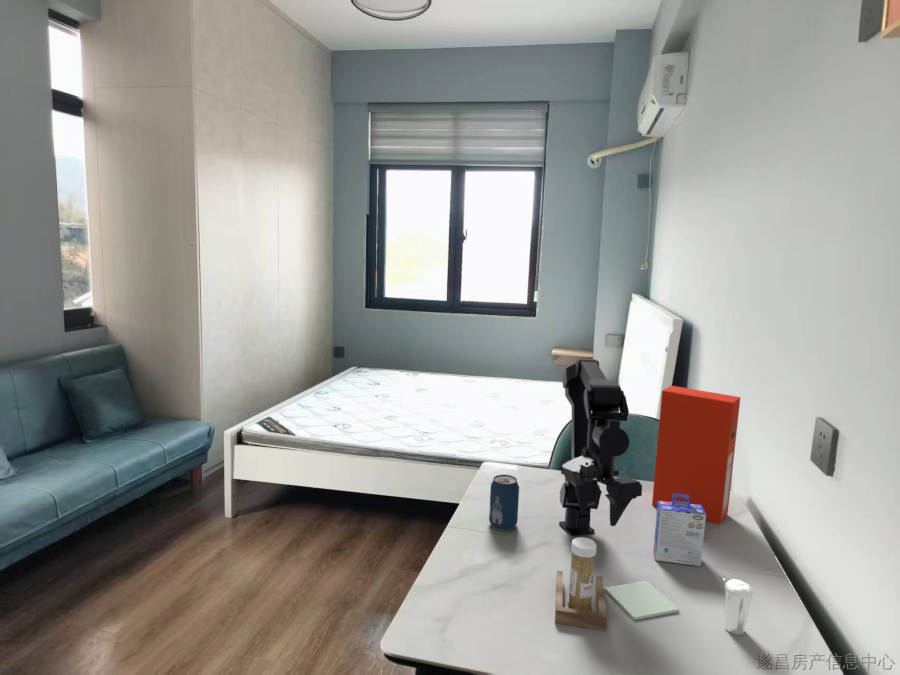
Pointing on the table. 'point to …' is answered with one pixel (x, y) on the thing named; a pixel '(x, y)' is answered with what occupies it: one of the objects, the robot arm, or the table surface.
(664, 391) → the red box
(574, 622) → the wooden holder
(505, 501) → the soda can
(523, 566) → the table surface
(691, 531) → the ink cartridge box
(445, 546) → the table surface
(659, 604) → the pad
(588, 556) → the sprinkles bottle
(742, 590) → the milkshake
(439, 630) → the table surface
